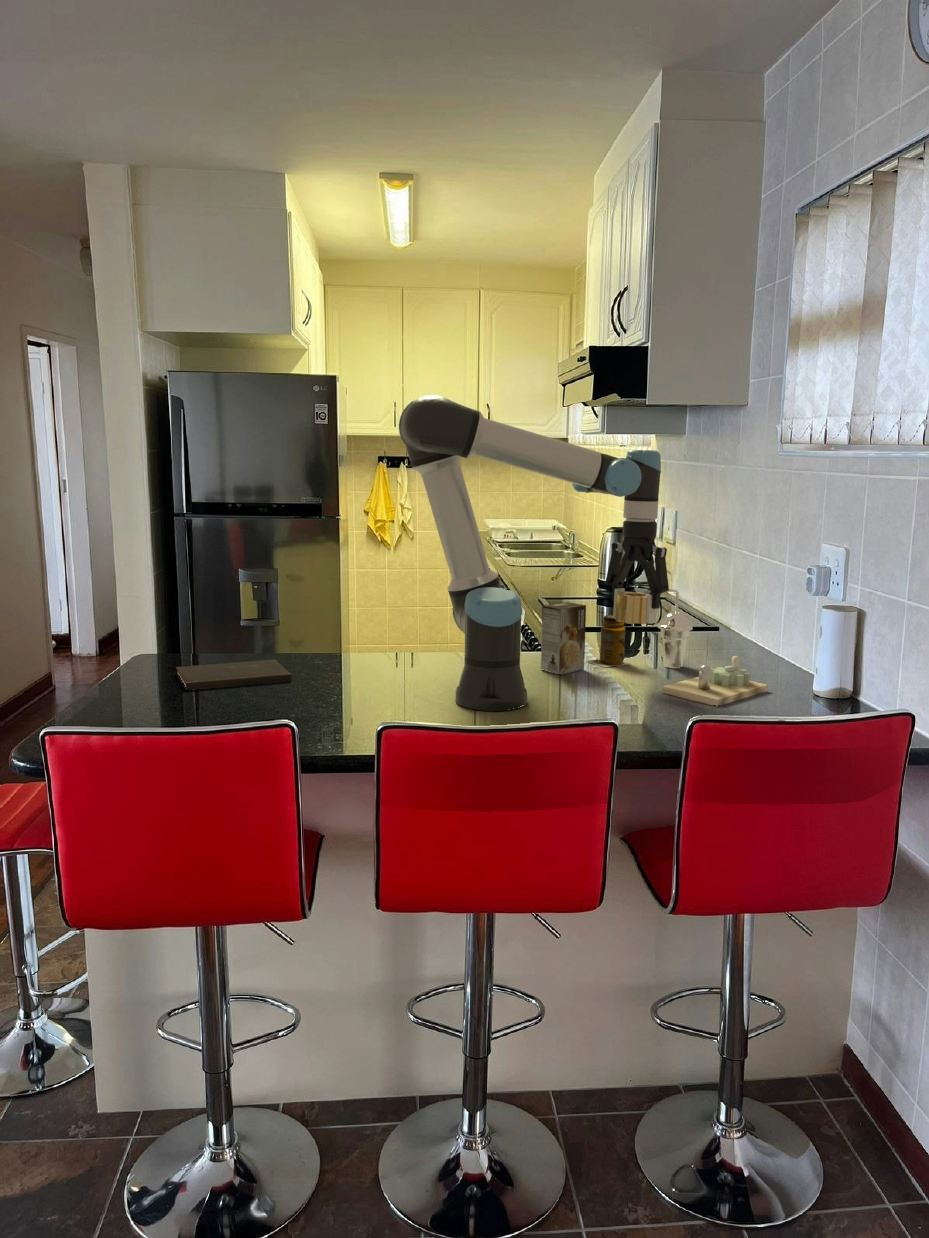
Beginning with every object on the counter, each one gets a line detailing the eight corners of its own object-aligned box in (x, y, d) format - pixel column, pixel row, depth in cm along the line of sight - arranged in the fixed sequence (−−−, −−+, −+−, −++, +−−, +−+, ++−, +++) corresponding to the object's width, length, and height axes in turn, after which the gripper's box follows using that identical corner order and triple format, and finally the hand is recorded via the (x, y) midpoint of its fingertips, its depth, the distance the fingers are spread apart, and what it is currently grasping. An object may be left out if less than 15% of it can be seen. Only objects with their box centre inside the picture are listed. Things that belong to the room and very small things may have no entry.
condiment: (630, 664, 227) (633, 617, 224) (605, 668, 222) (607, 620, 220) (611, 658, 233) (613, 612, 230) (586, 662, 228) (588, 615, 226)
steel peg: (705, 690, 196) (707, 667, 195) (695, 688, 198) (697, 664, 197) (712, 688, 198) (714, 665, 197) (702, 686, 200) (704, 663, 199)
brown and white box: (565, 665, 224) (567, 601, 221) (584, 669, 220) (587, 605, 217) (539, 670, 218) (541, 605, 215) (559, 675, 214) (561, 608, 211)
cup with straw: (688, 671, 220) (694, 590, 216) (651, 668, 222) (655, 588, 219) (691, 664, 228) (696, 585, 224) (655, 660, 230) (660, 583, 227)
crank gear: (734, 688, 198) (736, 664, 197) (701, 680, 205) (702, 657, 204) (756, 682, 204) (757, 659, 203) (722, 675, 210) (724, 652, 209)
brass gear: (637, 625, 200) (639, 598, 198) (606, 619, 206) (608, 593, 205) (661, 621, 205) (662, 595, 204) (630, 615, 212) (632, 590, 211)
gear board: (716, 706, 189) (717, 699, 189) (662, 692, 200) (662, 686, 199) (767, 691, 202) (767, 684, 202) (713, 678, 213) (713, 672, 212)
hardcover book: (176, 676, 209) (176, 667, 208) (275, 668, 218) (275, 659, 218) (186, 693, 194) (185, 683, 194) (291, 684, 204) (291, 674, 203)
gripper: (690, 523, 196) (683, 624, 200) (613, 516, 212) (608, 611, 216) (669, 524, 191) (663, 628, 195) (592, 517, 207) (587, 614, 211)
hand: (634, 619), depth 206 cm, fingers closed on brass gear, 9 cm apart
